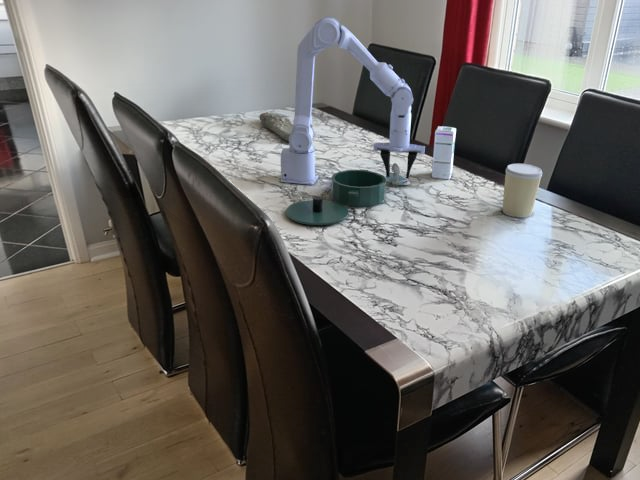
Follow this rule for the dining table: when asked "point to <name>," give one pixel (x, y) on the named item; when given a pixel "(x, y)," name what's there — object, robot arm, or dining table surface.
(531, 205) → the coffee cup
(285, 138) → the elongated rock
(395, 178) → the pacifier
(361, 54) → the robot arm
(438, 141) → the syrup box
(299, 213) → the lid
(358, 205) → the pot
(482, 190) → the dining table surface
